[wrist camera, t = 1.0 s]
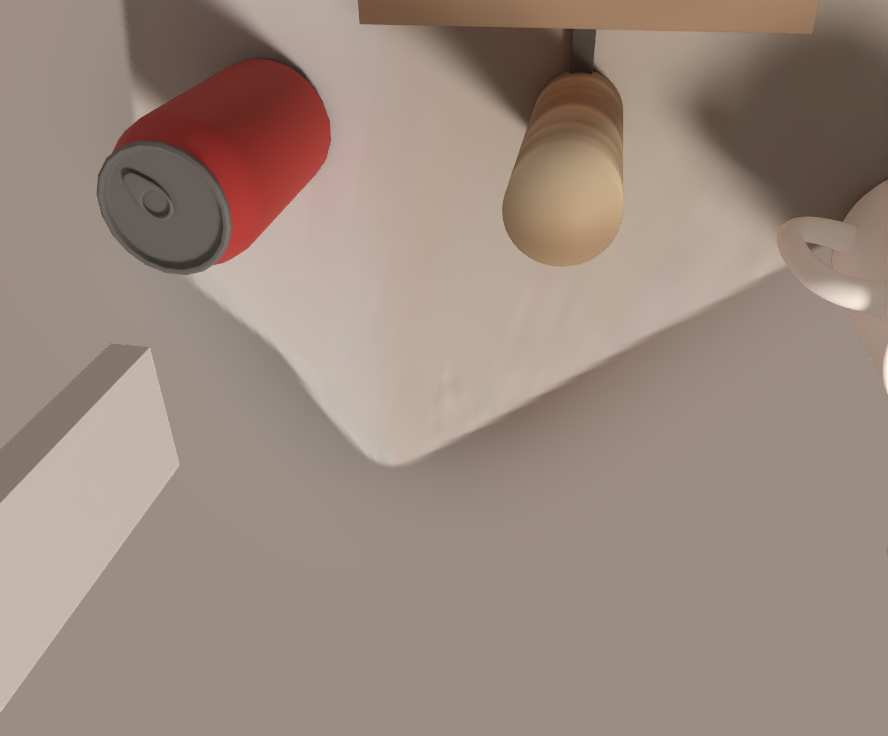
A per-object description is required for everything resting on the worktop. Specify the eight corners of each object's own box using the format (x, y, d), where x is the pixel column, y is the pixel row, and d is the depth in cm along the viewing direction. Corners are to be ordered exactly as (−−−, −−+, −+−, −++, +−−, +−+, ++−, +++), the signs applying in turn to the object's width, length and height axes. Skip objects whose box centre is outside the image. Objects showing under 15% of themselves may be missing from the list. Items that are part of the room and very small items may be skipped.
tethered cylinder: (526, -193, 31) (481, -207, 21) (681, -197, 30) (709, -214, 20) (513, 155, 39) (476, 260, 29) (636, 160, 38) (641, 272, 28)
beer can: (263, 25, 38) (138, 90, 28) (360, 129, 40) (274, 223, 30) (189, 115, 41) (53, 201, 31) (282, 207, 43) (182, 315, 33)
